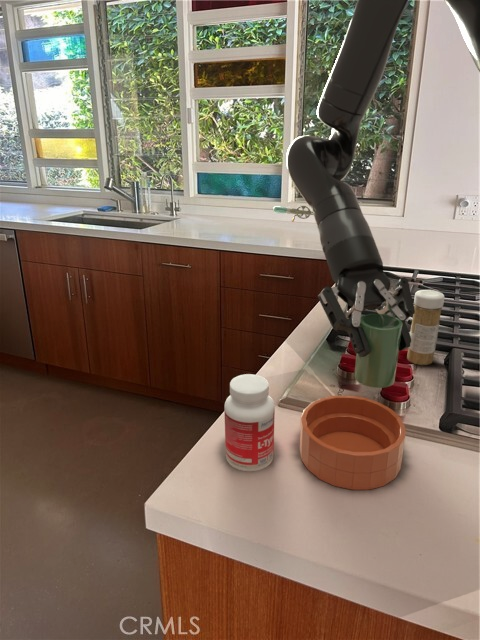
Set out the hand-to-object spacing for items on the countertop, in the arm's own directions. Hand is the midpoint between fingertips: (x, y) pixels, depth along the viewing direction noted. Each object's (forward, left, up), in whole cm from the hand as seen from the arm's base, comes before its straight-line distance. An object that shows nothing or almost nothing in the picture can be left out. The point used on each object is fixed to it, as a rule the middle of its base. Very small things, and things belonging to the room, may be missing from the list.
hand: (385, 351), depth 64 cm
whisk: (-53, -143, -7) cm, 153 cm away
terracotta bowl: (+9, +7, -10) cm, 15 cm away
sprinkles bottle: (-15, -11, -10) cm, 21 cm away
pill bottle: (+21, +3, -10) cm, 24 cm away
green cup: (0, -2, -5) cm, 5 cm away
